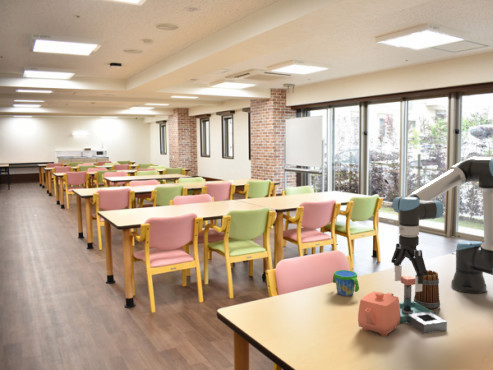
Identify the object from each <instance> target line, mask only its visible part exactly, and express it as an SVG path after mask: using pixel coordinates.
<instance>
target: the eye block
mask: <svg viewBox="0 0 493 370" xmlns="http://www.w3.org/2000/svg"><path fill="white" fill-rule="evenodd" d="M406 323H407V324H408V325H410V326H411V327H413V328H414V329H416V330H417V331H419V332H420V333H421V334H423V335H424V334H425V335H426V334H432V333H437V332H438V333H439V332H444V331H447V329H448V321H447V320H445V319H443V318H441V317H440V316H438V315H437V314H433V313H431V312H421V313H413V314H407V322H406Z"/></svg>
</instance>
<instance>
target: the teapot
mask: <svg viewBox="0 0 493 370" xmlns="http://www.w3.org/2000/svg"><path fill="white" fill-rule="evenodd" d="M399 303H400V297H398V296H397V295H396V296H395V295H394V293H390V292H386V293H384V292H380V291H371V292H370V293H368V294H366V295H365V296H363V297H362V298H361V299H360V301H359V306H358V313H357V322H358V326H359V327H360V328H362V330H363V331H365V332H370V331H372V332H376V333H379V335H380V336H381V337H388V336H389V333H391V332H392V331H395V330H396V329H397V327H398V326H399V324H401V323H400V304H399Z"/></svg>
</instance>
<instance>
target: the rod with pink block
mask: <svg viewBox="0 0 493 370" xmlns="http://www.w3.org/2000/svg"><path fill="white" fill-rule="evenodd" d="M400 283H401V284H403V302H404V308H403V309H402V313H403V314H406V315H407V314H413V310H411V301H412V285H413V286H415V277H412V276H411V275H403V276H402V275H401V281H400Z"/></svg>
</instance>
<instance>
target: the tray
mask: <svg viewBox="0 0 493 370" xmlns="http://www.w3.org/2000/svg"><path fill="white" fill-rule="evenodd" d="M399 304H400V323H399V324H403V323H407V315H406V314H403V313H402V309H403V308H404V301H403V302H399ZM411 310H413V313H421V312H431V313H433V314H434V315H436V314H435V312H434V310H429V309H427V308H426V307H424V306H422V305H420V304H418V303H417V302H415V301H414V300H413V301H412V300H411Z"/></svg>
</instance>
